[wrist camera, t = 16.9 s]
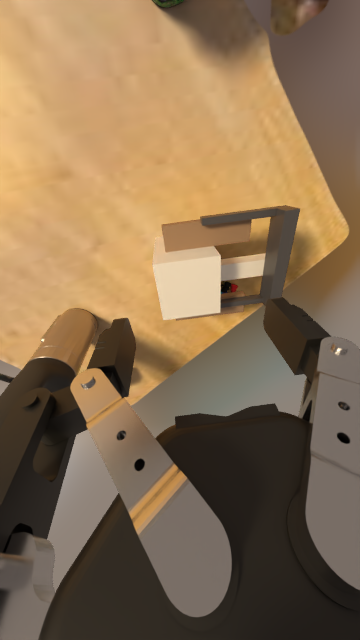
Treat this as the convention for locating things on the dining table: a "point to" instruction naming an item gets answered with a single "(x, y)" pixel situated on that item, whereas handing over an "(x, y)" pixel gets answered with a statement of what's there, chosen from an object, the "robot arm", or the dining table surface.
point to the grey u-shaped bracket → (276, 250)
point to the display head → (200, 267)
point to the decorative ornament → (167, 2)
